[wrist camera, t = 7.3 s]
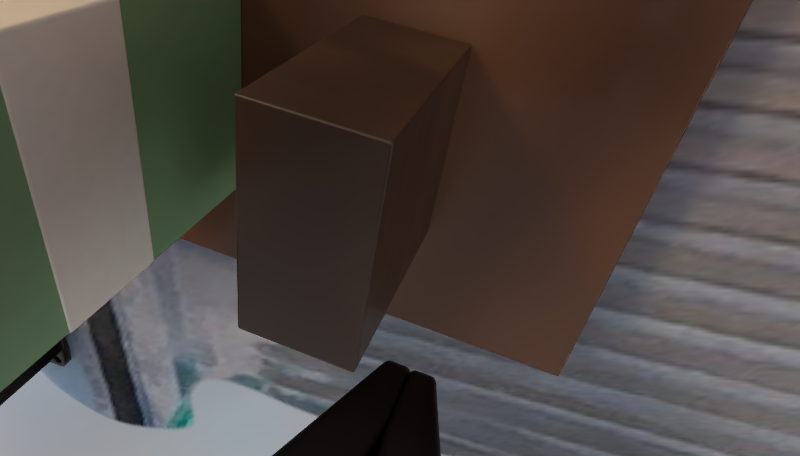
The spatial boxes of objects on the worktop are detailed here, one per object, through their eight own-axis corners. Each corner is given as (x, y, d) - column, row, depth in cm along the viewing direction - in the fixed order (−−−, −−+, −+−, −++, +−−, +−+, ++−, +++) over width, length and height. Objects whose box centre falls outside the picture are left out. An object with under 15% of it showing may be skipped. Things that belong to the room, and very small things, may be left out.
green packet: (196, 138, 21) (-300, 244, 13) (183, -73, 17) (-550, -87, 9) (348, 290, 16) (-314, 594, 8) (384, 41, 12) (-884, 211, 4)
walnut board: (36, 174, 23) (-135, 268, 18) (-84, -273, 15) (-467, -340, 10) (559, 364, 19) (535, 550, 14) (791, -90, 11) (934, -39, 6)
